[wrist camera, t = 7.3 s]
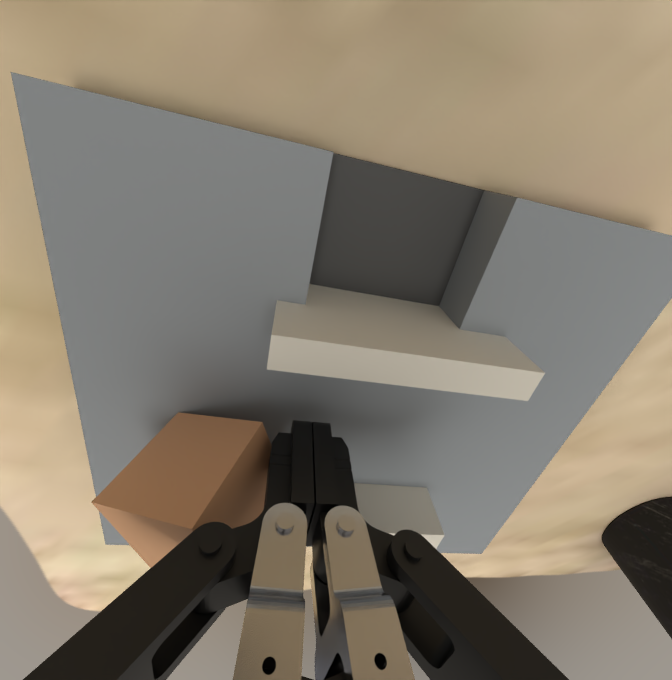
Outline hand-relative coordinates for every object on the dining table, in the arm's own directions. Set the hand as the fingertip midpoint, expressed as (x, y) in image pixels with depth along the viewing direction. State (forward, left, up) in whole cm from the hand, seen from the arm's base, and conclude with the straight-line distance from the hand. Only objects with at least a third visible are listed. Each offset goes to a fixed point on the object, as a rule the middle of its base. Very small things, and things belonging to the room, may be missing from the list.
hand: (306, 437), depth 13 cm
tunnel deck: (0, +2, -4) cm, 4 cm away
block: (+1, -3, 0) cm, 3 cm away
